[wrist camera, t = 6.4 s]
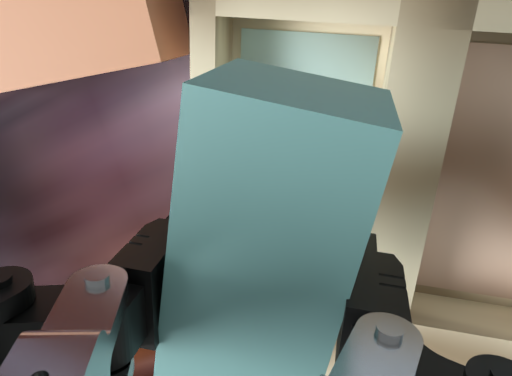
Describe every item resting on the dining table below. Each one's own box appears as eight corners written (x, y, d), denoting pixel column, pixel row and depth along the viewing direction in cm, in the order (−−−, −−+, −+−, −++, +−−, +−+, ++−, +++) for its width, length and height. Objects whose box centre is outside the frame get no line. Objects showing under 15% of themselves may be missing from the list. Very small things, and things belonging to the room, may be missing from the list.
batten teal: (237, 58, 12) (182, 82, 8) (389, 90, 11) (403, 131, 8) (195, 343, 16) (146, 443, 12) (305, 376, 15) (287, 491, 12)
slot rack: (536, 367, 23) (565, 425, 20) (213, 309, 26) (193, 352, 23) (710, -87, 15) (803, -112, 12) (217, -94, 18) (187, -114, 15)
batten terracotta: (174, -43, 19) (131, -54, 16) (196, 52, 21) (161, 62, 17) (-10, 5, 22) (-83, 5, 18) (19, 86, 23) (-44, 101, 20)
